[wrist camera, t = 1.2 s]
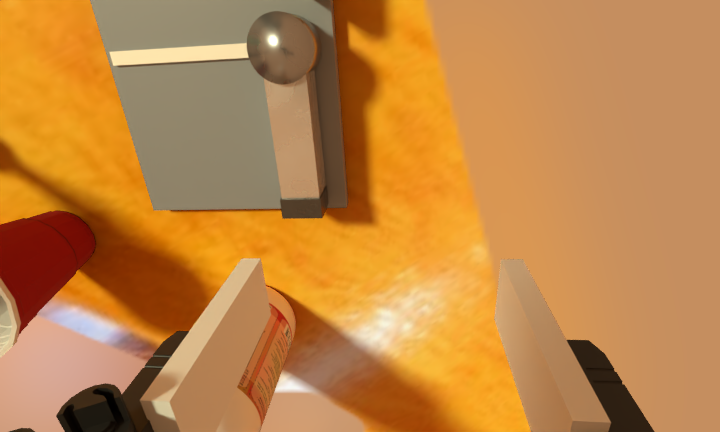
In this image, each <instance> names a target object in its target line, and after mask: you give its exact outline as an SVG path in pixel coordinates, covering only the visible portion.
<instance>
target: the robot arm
mask: <svg viewBox="0 0 720 432" xmlns="http://www.w3.org/2000/svg"><path fill="white" fill-rule="evenodd" d="M270 316H271V312H270V306H269V301H268V296H267V290H266V285H265V280H264V274H263V269H262V264H261V259H241V261H240V262H239V263H238V265H237V266H236V267H235V269H234V270H233V272H232V273H231V274H230V276H229V277H228V279H227V280H226V281H225V283H224V284H223V285H222V287H221V288H220V290H219V291H218V292H217V294H216V295H215V297H214V298H213V299H212V301H211V302H210V303H209V305H208V306H207V308H206V309H205V310H204V312H203V313H202V315H201V316H200V317H199V319H198V320H197V322H196V323H195V324H194V326H193V327H192V328H191V330H190V331H177V332H176V333H174V334H173V335H172V336H170V337H169V338H168V339H166V340H165V341H164V342H163V343H162V344H161V345H160V347H159V348H158V349H157V350H156V352H155V353H154V354H153V357H151V358H150V359H149V361H148V362H147V363H146V365H145V368H143V369H142V370H141V371H140V372H139V373H138V375H137V376H136V377H135V379H134V380H133V381H132V382H131V384H130V385H129V386H128V388H127V389H126V390H125V392H124V393H123V394H122V395H121V392H120V390H119V389H118V388H117V387H116V386H115V385H111V384H101V385H95V386H92V387H90V388H87V389H85V390H83V391H81V392H79V393H78V394H76V395H75V396H74V397H72V398H71V399H70V400H68V401H67V402H66V403H65V404H64V405H63V406H62V407H61V409H60V411H59V412H58V414H57V418H58V420H59V421H60V424H61V425H62V427H63V429H64V430H65V432H216V431H217V428H218V426H219V424H220V422H221V420H222V418H223V416H224V414H225V411H226V409H227V407H228V405H229V403H230V401H231V399H232V397H233V394H234V392H235V390H236V388H237V386H238V384H239V382H240V380H241V378H242V375H243V373H244V371H245V369H246V367H247V365H248V363H249V361H250V358H251V356H252V354H253V352H254V350H255V348H256V346H257V344H258V341H259V339H260V337H261V335H262V333H263V331H264V329H265V327H266V324H267V322H268V320H269V318H270ZM495 322H496V325H497V328H498V332H499V335H500V338H501V341H502V344H503V347H504V350H505V353H506V356H507V359H508V362H509V365H510V368H511V371H512V374H513V377H514V381H515V384H516V387H517V390H518V393H519V396H520V399H521V402H522V405H523V408H524V411H525V414H526V417H527V420H528V423H529V426H530V429H531V432H654V430H653V429H652V427H651V426H650V424H649V423H648V421H647V420H646V418H645V417H644V415H643V413H642V412H641V410H640V409H639V407H638V405H637V404H636V402H635V401H634V399H633V398H632V396H631V394H630V393H629V391H628V390H627V388H626V387H625V385H623V384H622V380H621V379H620V377H619V376H618V374H617V372H615V371H614V368H613V366H612V365H611V363H610V362H609V360H608V358H607V357H606V355H605V354H604V353H603V352H602V351H600V350H599V349H598V348H597V347H596V346H595V345H593V344H592V343H591V342H590V341H588V340H566V339H565V337H564V335H563V333H562V331H561V329H560V327H559V325H558V324H557V322H556V320H555V318H554V316H553V314H552V313H551V311H550V309H549V307H548V305H547V303H546V301H545V300H544V298H543V296H542V294H541V292H540V290H539V289H538V287H537V285H536V283H535V281H534V279H533V277H532V276H531V274H530V272H529V270H528V268H527V266H526V265H525V263H524V261H523V260H522V259H501V265H500V273H499V283H498V292H497V301H496V310H495ZM10 432H35V431H33V430H32V429H30V428H28V429H27V428H21V429H17V430H13V431H10Z"/></svg>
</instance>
